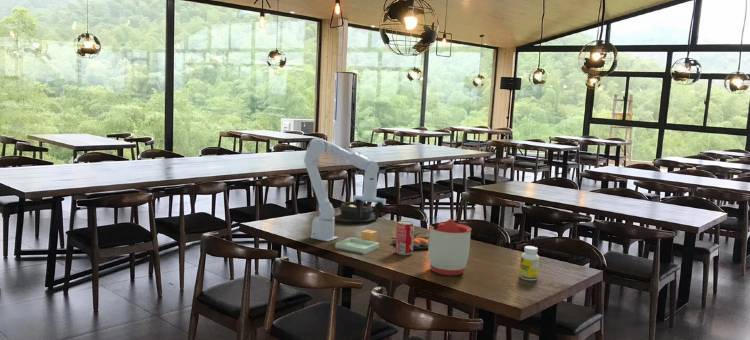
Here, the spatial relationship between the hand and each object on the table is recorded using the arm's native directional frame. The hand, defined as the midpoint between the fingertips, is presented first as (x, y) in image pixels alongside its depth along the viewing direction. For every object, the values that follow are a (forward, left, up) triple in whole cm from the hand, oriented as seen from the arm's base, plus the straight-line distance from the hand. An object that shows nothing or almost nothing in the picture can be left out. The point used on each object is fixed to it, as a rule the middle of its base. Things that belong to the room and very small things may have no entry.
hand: (368, 218), depth 265 cm
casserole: (-23, +27, -10) cm, 37 cm away
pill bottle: (+75, -9, -10) cm, 76 cm away
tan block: (+4, -5, -10) cm, 11 cm away
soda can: (+24, -10, -10) cm, 27 cm away
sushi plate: (+20, +12, -10) cm, 25 cm away
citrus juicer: (+47, -21, -10) cm, 52 cm away
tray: (+5, -16, -9) cm, 19 cm away
